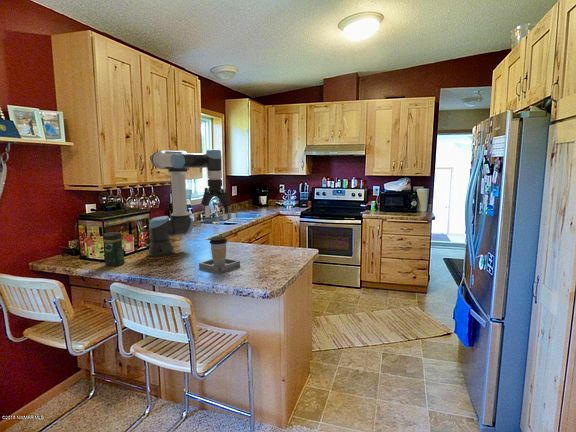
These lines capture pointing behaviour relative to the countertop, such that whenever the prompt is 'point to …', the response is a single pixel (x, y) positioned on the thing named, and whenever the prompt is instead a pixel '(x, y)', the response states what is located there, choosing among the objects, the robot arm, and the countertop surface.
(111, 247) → the coffee jar
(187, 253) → the countertop surface
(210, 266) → the tray
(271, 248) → the countertop surface
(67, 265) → the countertop surface
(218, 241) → the coffee cup
